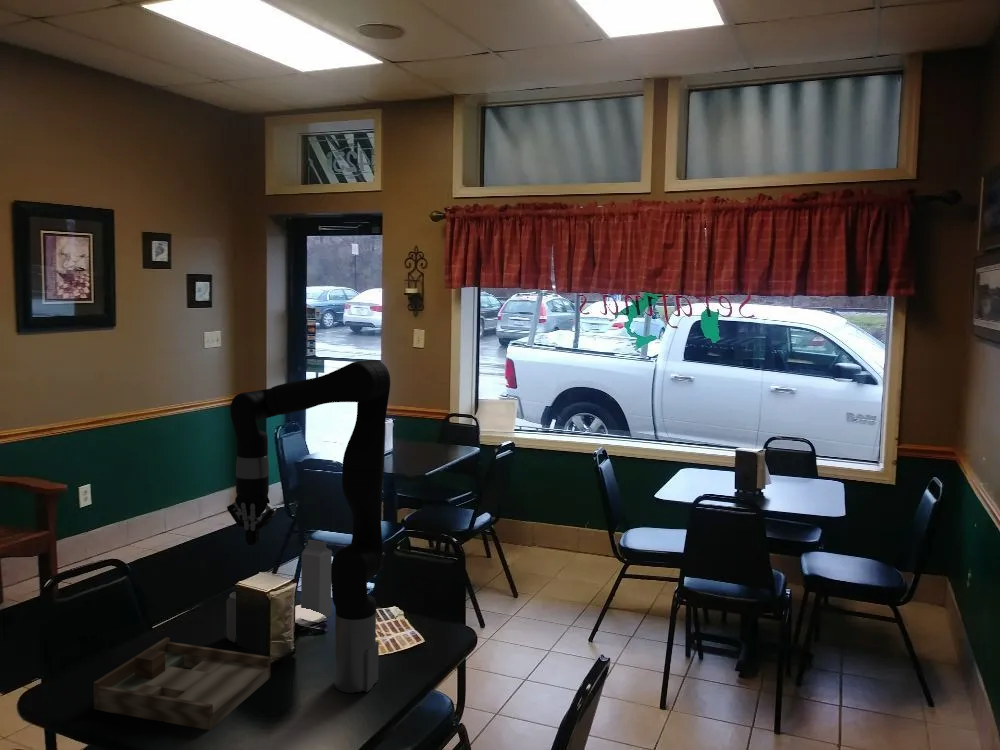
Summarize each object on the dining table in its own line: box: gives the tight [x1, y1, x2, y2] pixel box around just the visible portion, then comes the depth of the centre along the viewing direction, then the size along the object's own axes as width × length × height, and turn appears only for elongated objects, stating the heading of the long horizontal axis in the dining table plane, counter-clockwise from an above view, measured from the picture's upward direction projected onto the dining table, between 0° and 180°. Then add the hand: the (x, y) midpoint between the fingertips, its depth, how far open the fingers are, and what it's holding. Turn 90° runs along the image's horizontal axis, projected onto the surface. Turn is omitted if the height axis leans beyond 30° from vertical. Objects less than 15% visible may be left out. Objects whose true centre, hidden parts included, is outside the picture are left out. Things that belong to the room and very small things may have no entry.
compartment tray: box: [93, 636, 271, 731], centre depth 179 cm, size 28×24×6 cm
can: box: [226, 591, 236, 644], centre depth 207 cm, size 8×8×12 cm
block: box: [134, 648, 165, 679], centre depth 181 cm, size 4×4×4 cm
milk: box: [300, 539, 333, 618], centre depth 222 cm, size 6×6×22 cm
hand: (252, 544), depth 194 cm, fingers closed
